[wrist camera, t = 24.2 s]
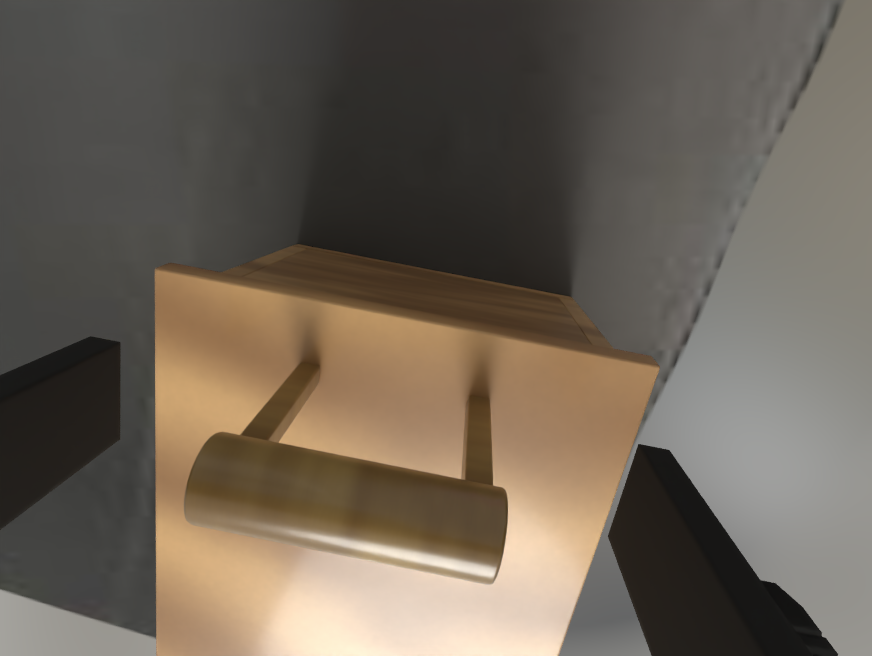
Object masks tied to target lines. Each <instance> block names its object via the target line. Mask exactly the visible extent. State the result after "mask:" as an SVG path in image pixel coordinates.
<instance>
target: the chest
mask: <svg viewBox="0 0 872 656" xmlns="http://www.w3.org/2000/svg"><path fill="white" fill-rule="evenodd" d="M221 273H226V274H232V275H237V276H242V277H247V278H252V279H257V280H262V281H268V282H273V283H278V284H283V285H288V286H293V287H298V288H304V289H309V290H314V291H319V292H324V293H329V294H334V295H340V296H345V297H350V298H355V299H360V300H365V301H370V302H376V303H381V304H386V305H391V306H396V307H401V308H406V309H412V310H417V311H422V312H427V313H432V314H437V315H442V316H448V317H453V318H458V319H463V320H468V321H473V322H478V323H484V324H489V325H494V326H499V327H504V328H509V329H514V330H519V331H525V332H530V333H535V334H540V335H545V336H550V337H555V338H561V339H566V340H571V341H576V342H581V343H586V344H591V345H597V346H602V347H607V348H612V349H613V347H612V346H611V345H610V344H609V342H608V341H607V340H606V339H605V337H604V336H603V335H602V334H601V332H600V331H599V330H598V329H597V328H596V326H595V325H594V324H593V323H592V321H591V320H590V319H589V318H588V316H587V315H586V314H585V313H584V312H583V310H582V309H581V308H580V307H579V305H578V304H577V303H576V302H575V301H574V299H573V298H572V297H569V296H564V295H559V294H554V293H549V292H543V291H538V290H533V289H528V288H523V287H518V286H512V285H507V284H502V283H497V282H492V281H486V280H481V279H476V278H471V277H466V276H461V275H455V274H450V273H445V272H440V271H435V270H429V269H424V268H419V267H414V266H409V265H404V264H398V263H393V262H388V261H383V260H378V259H373V258H367V257H362V256H357V255H352V254H347V253H341V252H336V251H331V250H326V249H321V248H316V247H310V246H305V245H300V244H296V245H293V246H290V247H287V248H285V249H282V250H279V251H277V252H274V253H271V254H269V255H266V256H263V257H261V258H258V259H255V260H253V261H250V262H248V263H245V264H242V265H240V266H237V267H234V268H232V269H229V270H226V271H224V272H221Z"/></svg>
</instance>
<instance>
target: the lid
mask: <svg viewBox="0 0 872 656" xmlns="http://www.w3.org/2000/svg"><path fill="white" fill-rule="evenodd" d="M659 369H660V366H659V365H658V364H657V362H656V361H655V360H654V359H653V357H651V356H648V355H643V354H638V353H633V352H627V351H622V350H617V349H612V348H607V347H602V346H597V345H591V344H586V343H581V342H576V341H571V340H566V339H561V338H555V337H550V336H545V335H540V334H535V333H530V332H525V331H519V330H514V329H509V328H504V327H499V326H494V325H489V324H484V323H478V322H473V321H468V320H463V319H458V318H453V317H448V316H442V315H437V314H432V313H427V312H422V311H417V310H412V309H406V308H401V307H396V306H391V305H386V304H381V303H376V302H370V301H365V300H360V299H355V298H350V297H345V296H340V295H334V294H329V293H324V292H319V291H314V290H309V289H304V288H298V287H293V286H288V285H283V284H278V283H273V282H268V281H262V280H257V279H252V278H247V277H242V276H237V275H232V274H226V273H221V272H216V271H211V270H206V269H201V268H196V267H191V266H185V265H180V264H175V263H168V264H165V265H163V266H160V267H157V268H156V269H155V432H156V655H157V656H559V653H560V650H561V647H562V644H563V641H564V639H565V636H566V633H567V630H568V627H569V624H570V622H571V619H572V616H573V613H574V610H575V607H576V604H577V601H578V599H579V596H580V593H581V590H582V587H583V585H584V581H585V579H586V576H587V573H588V570H589V568H590V565H591V562H592V559H593V556H594V553H595V551H596V548H597V545H598V542H599V539H600V536H601V534H602V531H603V528H604V525H605V522H606V519H607V516H608V513H609V511H610V508H611V505H612V502H613V499H614V497H615V494H616V491H617V488H618V485H619V482H620V480H621V477H622V474H623V471H624V468H625V465H626V463H627V460H628V457H629V454H630V451H631V448H632V446H633V443H634V440H635V437H636V434H637V431H638V428H639V426H640V423H641V420H642V417H643V414H644V411H645V409H646V406H647V403H648V400H649V397H650V394H651V392H652V389H653V386H654V383H655V380H656V377H657V375H658V372H659Z"/></svg>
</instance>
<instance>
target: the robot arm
mask: <svg viewBox="0 0 872 656" xmlns="http://www.w3.org/2000/svg"><path fill="white" fill-rule="evenodd" d="M119 439H120V342H117V341H111V340H106V339H101V338H96V337H91V336H90V337H88V338H86V339H83V340H81V341H79V342H76V343H74V344H72V345H70V346H67V347H65V348H63V349H60V350H58V351H56V352H53V353H51V354H49V355H46V356H44V357H42V358H39V359H37V360H35V361H32V362H30V363H28V364H25V365H23V366H21V367H18V368H16V369H14V370H11V371H9V372H7V373H4V374H2V375H0V529H2V528H3V527H4V526H6V525H7V524H8V523H10V522H11V521H12V520H14V519H15V518H16V517H18V516H19V515H20V514H22V513H23V512H24V511H26V510H27V509H28V508H30V507H31V506H32V505H34V504H35V503H36V502H38V501H39V500H40V499H41V498H43V497H44V496H45V495H47V494H48V493H49V492H51V491H52V490H53V489H55V488H56V487H57V486H59V485H60V484H61V483H63V482H64V481H65V480H67V479H68V478H69V477H71V476H72V475H73V474H75V473H76V472H77V471H79V470H80V469H81V468H82V467H84V466H85V465H86V464H88V463H89V462H90V461H92V460H93V459H94V458H96V457H97V456H98V455H100V454H101V453H102V452H104V451H105V450H106V449H108V448H109V447H110V446H112V445H113V444H114V443H116V442H117V441H118V440H119ZM608 537H609V541H610V543H611V546H612V549H613V551H614V554H615V557H616V559H617V562H618V565H619V568H620V570H621V573H622V576H623V579H624V581H625V584H626V587H627V590H628V592H629V595H630V598H631V600H632V603H633V606H634V609H635V611H636V614H637V617H638V620H639V622H640V625H641V628H642V631H643V633H644V636H645V639H646V642H647V644H648V647H649V650H650V652H651V655H652V656H838V654H837V652H836V651H835V650H834V649H833V647H832V646H831V644H830V643H829V642H828V640H827V639H826V638H824V637H822V635H821V634H822V632H821V631H820V630H819V628H818V627H817V626H816V624H815V623H814V622H813V620H812V619H811V618H810V616H809V615H808V614H807V613H806V611H805V610H804V608H803V607H802V606H801V605H800V604H798V603H797V602H796V601H795V600H794V599H793V598H792V597H790V596H789V595H788V594H787V593H786V592H785V591H784V590H782V589H781V588H780V587H779V586H778V585H777V584H775V583H771V582H766V581H761V580H760V579H759V578H758V576H757V575H756V573H755V572H754V571H753V569H752V568H751V566H750V565H749V564H748V562H747V561H746V559H745V558H744V556H743V555H742V554H741V552H740V551H739V549H738V548H737V546H736V545H735V543H734V542H733V541H732V539H731V538H730V536H729V535H728V533H727V532H726V531H725V529H724V528H723V526H722V525H721V523H720V522H719V521H718V519H717V518H716V516H715V515H714V513H713V512H712V511H711V509H710V508H709V506H708V505H707V503H706V502H705V500H704V499H703V498H702V496H701V495H700V493H699V492H698V490H697V489H696V488H695V486H694V485H693V484H692V482H691V480H690V479H689V478H688V476H687V475H686V474H685V472H684V470H683V469H682V468H681V466H680V465H679V463H678V462H677V461H676V459H675V458H674V456H673V455H672V453H671V452H670V451H669V450H666V449H661V448H656V447H651V446H646V445H641V444H638V448H637V450H636V453H635V456H634V460H633V463H632V465H631V468H630V471H629V474H628V478H627V480H626V483H625V487H624V490H623V492H622V496H621V498H620V502H619V505H618V507H617V511H616V514H615V517H614V520H613V523H612V526H611V529H610V532H609V535H608Z"/></svg>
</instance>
